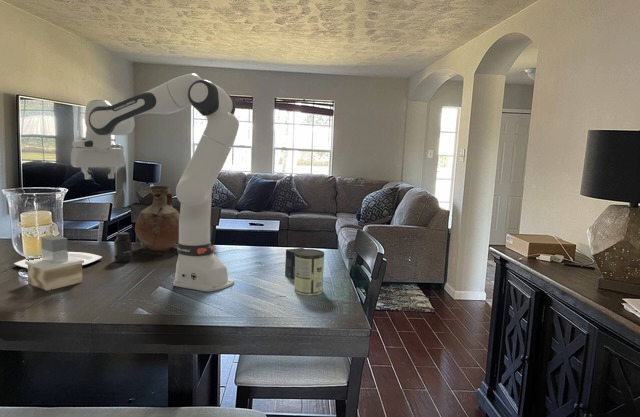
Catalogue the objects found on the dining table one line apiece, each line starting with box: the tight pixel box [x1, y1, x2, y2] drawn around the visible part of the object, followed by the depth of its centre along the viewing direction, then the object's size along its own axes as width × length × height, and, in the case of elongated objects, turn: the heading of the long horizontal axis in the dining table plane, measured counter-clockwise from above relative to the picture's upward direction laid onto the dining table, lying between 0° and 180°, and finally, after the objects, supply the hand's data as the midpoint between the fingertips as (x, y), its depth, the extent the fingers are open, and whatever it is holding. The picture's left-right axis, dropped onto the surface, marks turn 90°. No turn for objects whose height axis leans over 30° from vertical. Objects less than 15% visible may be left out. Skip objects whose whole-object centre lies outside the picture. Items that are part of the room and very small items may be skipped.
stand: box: [25, 256, 84, 291], centre depth 152 cm, size 13×13×8 cm
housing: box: [40, 235, 69, 264], centre depth 151 cm, size 5×7×8 cm
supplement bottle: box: [113, 231, 133, 264], centre depth 183 cm, size 7×7×12 cm
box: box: [284, 247, 305, 279], centre depth 172 cm, size 8×6×11 cm
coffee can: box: [293, 248, 325, 296], centre depth 153 cm, size 10×10×14 cm
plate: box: [13, 251, 103, 269], centre depth 176 cm, size 27×27×2 cm
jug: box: [134, 185, 180, 252], centre depth 206 cm, size 22×22×30 cm
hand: (99, 178), depth 170 cm, fingers open, 8 cm apart
